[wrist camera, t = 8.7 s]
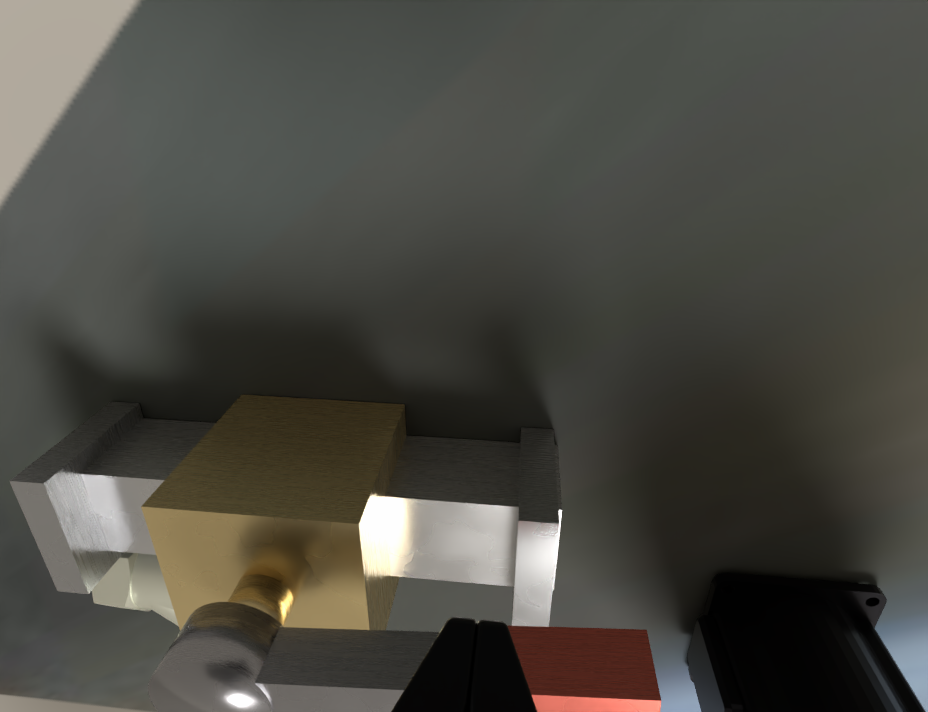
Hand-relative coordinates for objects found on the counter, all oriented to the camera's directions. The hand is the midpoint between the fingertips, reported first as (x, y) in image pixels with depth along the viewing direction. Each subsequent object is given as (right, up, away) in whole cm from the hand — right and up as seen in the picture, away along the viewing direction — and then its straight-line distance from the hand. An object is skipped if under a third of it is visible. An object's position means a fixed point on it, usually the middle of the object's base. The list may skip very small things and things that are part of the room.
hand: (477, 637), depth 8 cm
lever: (-2, -4, +7) cm, 8 cm away
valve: (-6, 0, +15) cm, 16 cm away
